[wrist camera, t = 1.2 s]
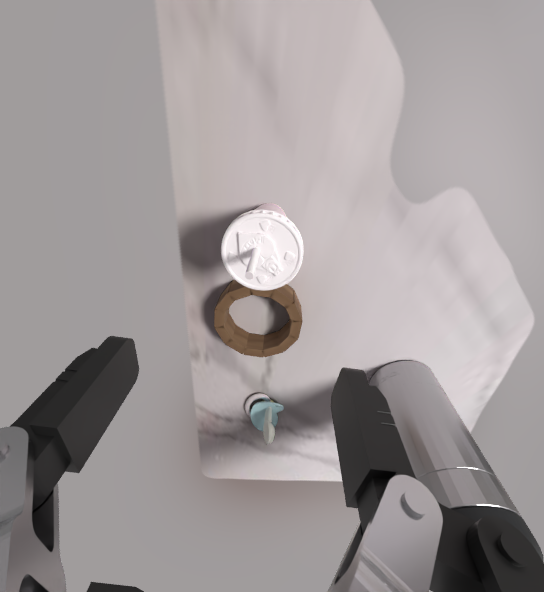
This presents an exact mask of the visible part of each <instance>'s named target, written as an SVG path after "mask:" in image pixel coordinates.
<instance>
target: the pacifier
mask: <svg viewBox="0 0 544 592" xmlns="http://www.w3.org/2000/svg"><path fill="white" fill-rule="evenodd" d="M257 399H263V401H262V402H257V403H256V404H254V405H253V407H252V410H251V409H250V405H251V403H252V402H253V401H255V400H257ZM283 409H284V408H283V405H281V404H278V403H274V401H273V400H271V399H270V398H269V397H268V396H267V395H265V394H262V393H258V394H254V395H252V396H251V397H249V398H248V400H247V401H246V403H245V411H246V413H247V414H248V416H250V417H251V421H252V423H253V425H254V426H255V427H256V428H257V429H258V430H260V431H263V435H264V441H265V443H266V444H270V443H272V441H273V440H274V437H275V429H274V427H275V426H276V424H277V422H278V416H277V412H280V411H282V410H283ZM271 420H272V422H271Z"/></svg>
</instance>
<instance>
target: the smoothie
mask: <svg viewBox="0 0 544 592" xmlns="http://www.w3.org/2000/svg"><path fill="white" fill-rule="evenodd" d="M303 253H304V252H303V241H302V238H301V235H300V232H299V231H298V229H297V228H296V226H295V225H294V223H292V222H291V221H290V220H289V219H288V218H287V216H286V214H285V212H284V211H283V209H282V208H281V207H280V206H278V205H276V204H273V203H266V204H262V205H261V206H259V207H258V208H256V209H255V210H251V211H249V212H246V213H244V214H241V215H240V216H239V217H237V218H236V219H235V220H233V221H232V223H231V224H230V225H229V227H228V228H227V230H226V232H225V235H224V237H223V240H222V244H221V256H222V261H223V264H224V266H225V268H226V270H227V271H228V273H229V274H230V275H231V276H232V277H233V278H234V279H235V280H236V281H237V282H238V283H240V284H242V285H243V286H245V287H248V288H251V289H254V290H273V289H277V288H279V287H282V286H284V285H285V284H287V283H288V282H290V281H291V280H292V279H293V278H294V277H295V275H296V274H297V273H298V271H299V269H300V267H301V264H302V260H303Z"/></svg>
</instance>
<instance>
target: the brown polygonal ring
mask: <svg viewBox="0 0 544 592" xmlns="http://www.w3.org/2000/svg"><path fill="white" fill-rule="evenodd" d="M250 295H256V296H263V297H271V298H272V299H274V300H275V301H276V302H278V303H279V304H281V305H282V306H284V307H285V308H286V310H287V312H288V314H289V316H290V318H289V322H288V323H287V324H286V325H285V326H284V327H283V328H281V329H280V330H279V331H277V332H274V333H271V334H267V335H259V334H251V333H248V332H246V331H245V330H243V329H241V328H240V327H238V326H237V325H236V324H235V323H234V321H233V319H232V317H231V316H230V314H229V307H230V306H231V304H232V303H233V302H234V301H235V300H238V299H241V298H244V297H247V296H250ZM301 325H302V311H301V305H300V303H299V300H298V298H297V296H296V293H295V291H294V290H293V288H291V287H290V286H289V285H287V284H285V285H284V286H282V287H279V288H277V289H273V290H254V289H251V288H248V287H245V286H243V285H242V284H240V283H238V282H237V281H236V280H233V281H232V282H231V283H230V284H229V285H228V287H227V288H226V289H225V290H224V292H223V293H222V294H221V296H220V298H219V300H218V303H217V305H216V307H215V317H214V327H215V330H216V331H217V333H218V334H219V336H220V337H221V339H222V340H223V342H224V343H226V345H227V346H229V347H231V348H232V349H234V350H236V351H238V352H239V353H241V354H243V353H244V355H250V356H257V357H263V356H264V357H267V356H271V355H275V354H279V353H282V352H283V351H284V352H285V351H286V350H287V349H288V348H289V347H290V346H291V345H292V344H293V343H294V342H296V341H297V340H298V338H299V334H300V329H301Z"/></svg>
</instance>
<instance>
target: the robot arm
mask: <svg viewBox="0 0 544 592" xmlns="http://www.w3.org/2000/svg"><path fill="white" fill-rule="evenodd" d="M138 372H139V365H138V360H137V354H136V349H135V344H134V341H133V339H130V338H123V337H115V336H110V337H108V338H107V339H106V340H105V341H104V342H103V343H102V344H101V345H100V346H99V347H98V349H95V348H91V349H90V350H88V351H86V352H85V353H83V354H82V355H80V356H78V357H77V358H76V359H75V360H74V361H73V362H72V363H71V364H70V365H69V366H68V367H67V368H66V369H65V372H62V373H61V374H60V375H59V376H58V378H57V379H56V381H55V382H53V383H52V384H51V385H50V386H49V387H48V388H47V389H46V390H45V391H44V392H43V393H42V394H41V395H40V396H39V397H38V398H37V399H36V400H35V401H34V403H33V404H32V405H31V406H30V407H29V408H28V409H27V410H26V411H25V412H24V413H23V414H22V415H21V416H20V417H19V418H18V419H17V420H16V421H15V422H14V423H13V424H12V425H11V426H10V427H4V428H0V592H66V581H65V574H64V570H63V566H62V563H61V558H60V549H59V504H58V503H59V499H58V484H57V483H58V481H59V480H60V478H61V477H62V475H63V474H64V472H65V471H67V472H76V473H79V472H80V471H81V469H82V468H83V466H84V464H85V462H86V461H87V459H88V458H89V456H90V455H91V453H92V451H93V450H94V448H95V447H96V445H97V443H98V442H99V440H100V439H101V437H102V435H103V434H104V432H105V431H106V429H107V427H108V426H109V424H110V422H111V421H112V419H113V418H114V416H115V414H116V413H117V411H118V410H119V408H120V406H121V405H122V403H123V402H124V400H125V398H126V397H127V395H128V394H129V392H130V390H131V389H132V387H133V385H134V384H135V382H136V380H137V376H138ZM331 411H332V418H333V424H334V430H335V436H336V443H337V449H338V455H339V462H340V468H341V474H342V481H343V487H344V493H345V500H346V506H347V507H353V508H358V511H359V517H360V522H359V523H358V526H357V528H356V530H355V532H354V535H353V537H352V539H351V541H350V543H349V546H348V548H347V550H346V552H345V555H344V557H343V559H342V561H341V564H340V566H339V568H338V570H337V572H336V575H335V577H334V579H333V581H332V584H331V586H330V587H329V589H328V592H429V590H431V591H433V592H544V563H543V554H542V552H541V549H540V547H539V545H538V543H537V541H536V539H535V538H534V536H533V534H532V533H531V531H530V530H529V528H528V526H527V525H526V523H525V521H524V520H523V519H522V517H521V515H520V514H519V512H518V511H517V509H516V507H515V506H514V504H513V502H512V501H511V499H510V497H509V496H508V494H507V492H506V491H505V489H504V488H503V486H502V484H501V483H500V481H499V480H498V478H497V477H496V475H495V474H494V472H493V470H492V468H491V467H490V465H489V464H488V462H487V461H486V459H485V457H484V455H483V454H482V452H481V450H480V449H479V447H478V446H477V444H476V442H475V441H474V439H473V437H472V436H471V434H470V432H469V431H468V429H467V428H466V426H465V424H464V423H463V421H462V419H461V418H460V416H459V415H458V413H457V411H456V410H455V408H454V406H453V405H452V403H451V402H450V400H449V398H448V397H447V395H446V393H445V392H444V390H443V388H442V387H441V385H440V383H439V382H438V380H437V379H436V377H435V375H434V374H433V372H432V371H431V369H430V368H429V367H428V366H426V365H425V364H422V363H420V362H416V361H398V362H394V363H391V364H388V365H386V366H384V367H382V368H380V369H379V370H378V371H377V372H376V373H375V374H374V375H373V376H372V378H371V380H370V383H369V384H368V381H367V378H366V375H365V372H364V371H363V370H358V369H351V368H342V369H341V371H340V374H339V377H338V379H337V382H336V385H335V387H334V390H333V393H332V397H331ZM87 592H144V591H142V590H140V589H138V588H137V587H132V586H122V585H113V584H105V583H96V582H91V584H90V586H89V588H88V590H87Z"/></svg>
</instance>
